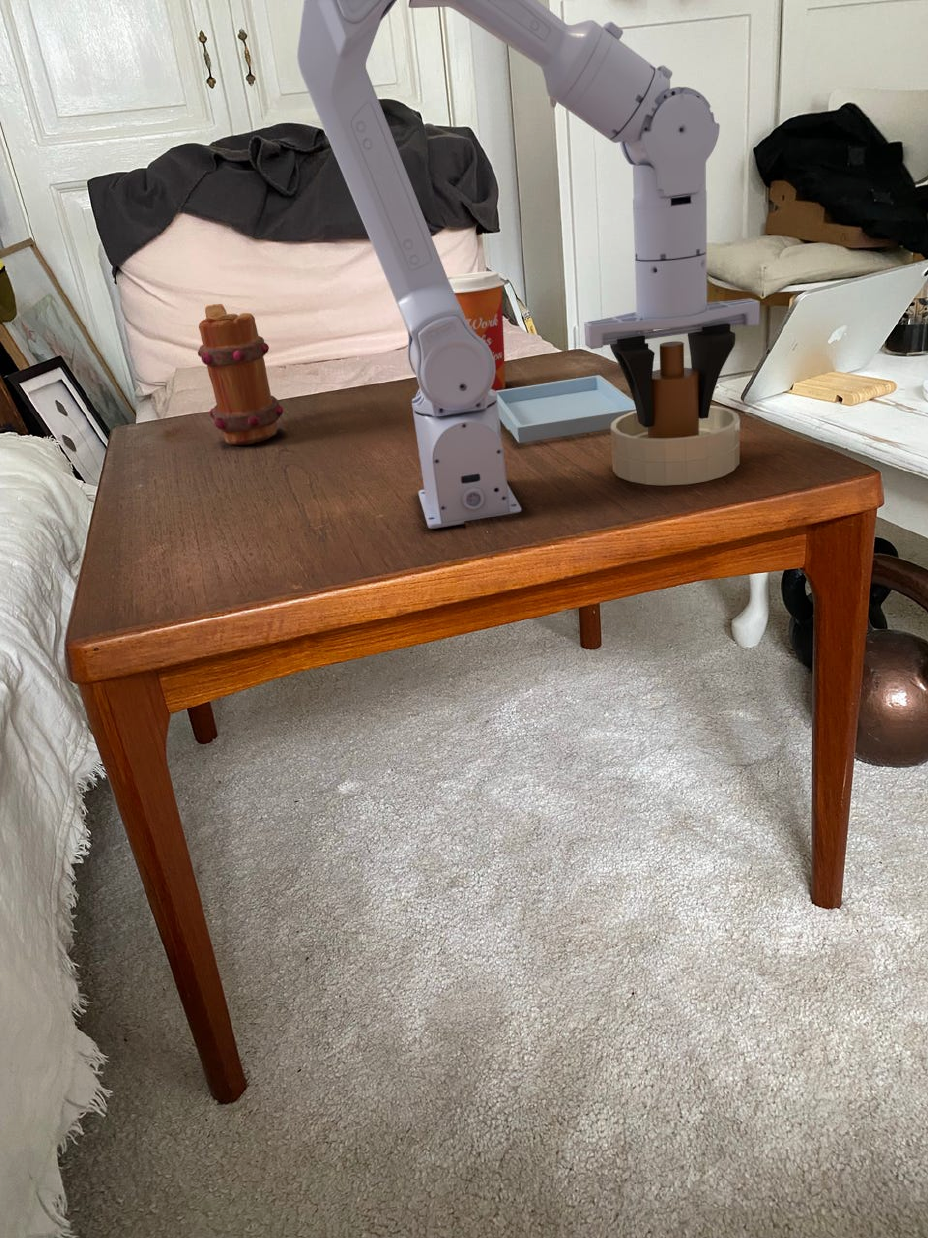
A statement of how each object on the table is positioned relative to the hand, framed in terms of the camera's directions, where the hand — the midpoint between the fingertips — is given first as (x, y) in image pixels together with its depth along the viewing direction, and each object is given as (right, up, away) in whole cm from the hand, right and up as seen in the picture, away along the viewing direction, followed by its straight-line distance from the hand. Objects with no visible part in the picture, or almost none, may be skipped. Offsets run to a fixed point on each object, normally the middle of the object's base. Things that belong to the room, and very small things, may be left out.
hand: (673, 419), depth 83 cm
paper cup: (-16, +12, +39) cm, 44 cm away
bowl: (+1, -4, +2) cm, 5 cm away
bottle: (0, -3, +1) cm, 3 cm away
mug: (-45, +5, +32) cm, 55 cm away
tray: (-7, +5, +22) cm, 24 cm away
